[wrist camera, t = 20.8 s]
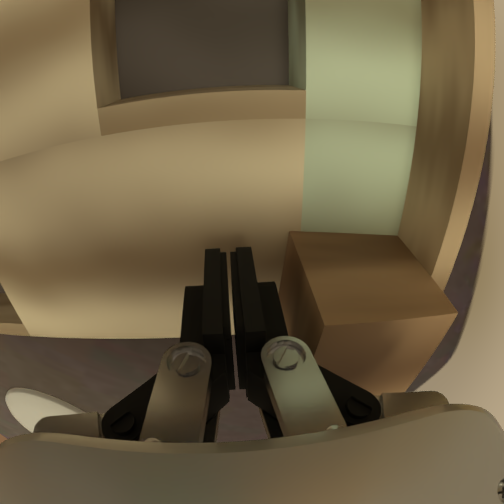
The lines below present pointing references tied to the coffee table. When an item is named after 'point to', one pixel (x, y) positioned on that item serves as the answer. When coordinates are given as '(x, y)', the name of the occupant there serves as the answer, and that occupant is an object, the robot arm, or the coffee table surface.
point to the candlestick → (36, 406)
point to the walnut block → (363, 307)
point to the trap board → (225, 144)
